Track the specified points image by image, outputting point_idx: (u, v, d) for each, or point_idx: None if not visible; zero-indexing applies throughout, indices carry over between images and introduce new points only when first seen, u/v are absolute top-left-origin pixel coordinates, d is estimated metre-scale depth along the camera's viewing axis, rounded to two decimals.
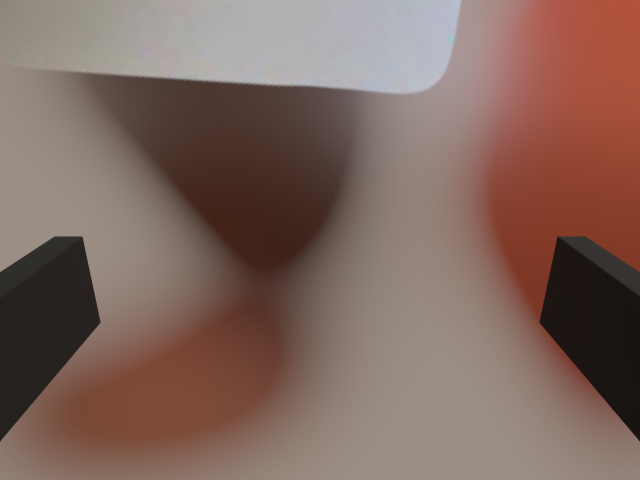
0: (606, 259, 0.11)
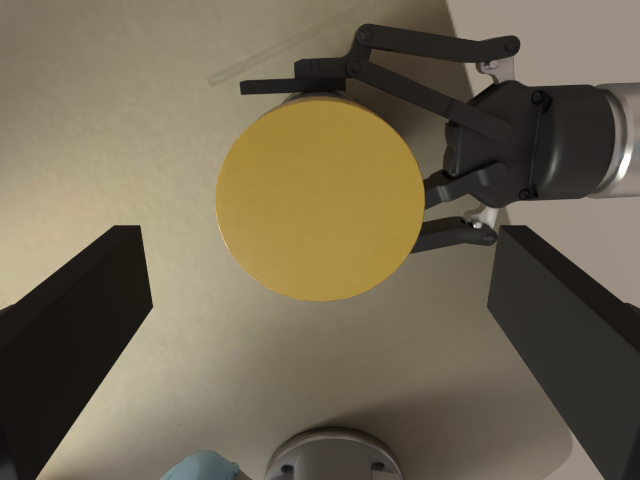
0: (538, 245, 0.12)
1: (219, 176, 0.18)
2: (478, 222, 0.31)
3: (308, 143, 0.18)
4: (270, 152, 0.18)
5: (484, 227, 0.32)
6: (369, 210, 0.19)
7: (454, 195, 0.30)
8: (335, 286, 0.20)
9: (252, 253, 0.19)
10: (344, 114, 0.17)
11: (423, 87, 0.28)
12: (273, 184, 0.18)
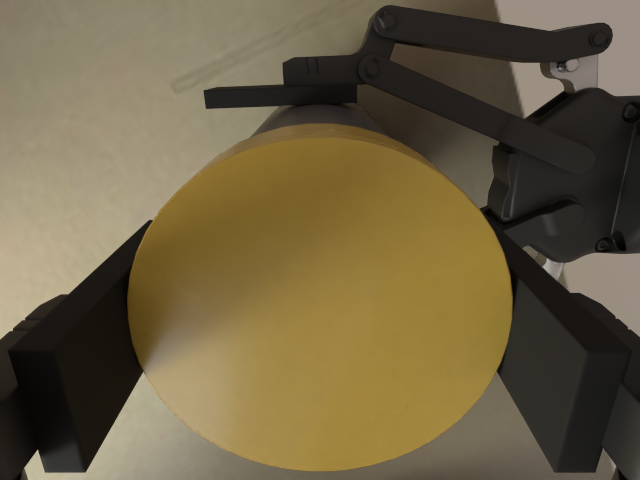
0: (499, 238, 0.12)
1: (132, 275, 0.10)
2: None
3: (297, 217, 0.09)
4: (225, 233, 0.09)
5: None
6: (410, 332, 0.10)
7: None
8: (347, 450, 0.12)
9: (200, 400, 0.11)
10: (368, 164, 0.09)
11: (468, 98, 0.19)
12: (233, 289, 0.10)
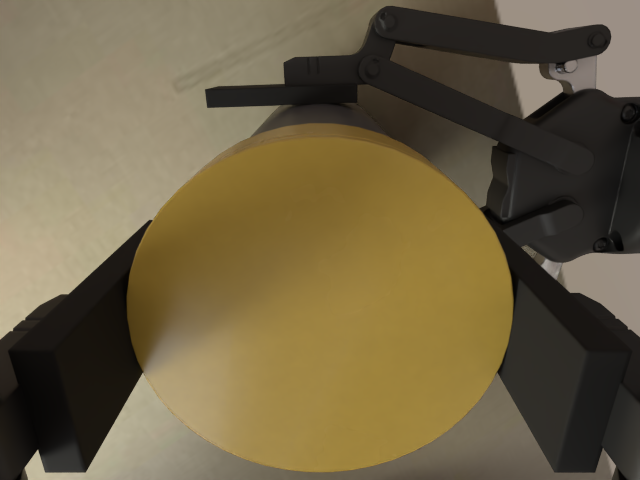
0: (499, 238, 0.12)
1: (328, 470, 0.12)
2: None
3: (221, 383, 0.11)
4: (261, 424, 0.11)
5: None
6: (285, 253, 0.09)
7: None
8: (466, 250, 0.09)
9: (440, 400, 0.11)
10: (151, 352, 0.10)
11: (468, 98, 0.19)
12: (308, 406, 0.11)
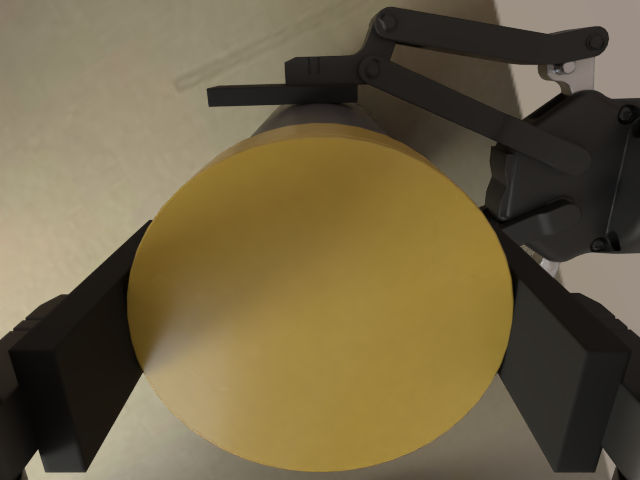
0: (499, 238, 0.12)
1: (503, 257, 0.10)
2: None
3: (412, 389, 0.11)
4: (453, 344, 0.10)
5: None
6: (257, 381, 0.11)
7: None
8: (176, 245, 0.09)
9: (356, 182, 0.09)
10: (397, 445, 0.11)
11: (467, 99, 0.20)
12: (414, 310, 0.10)
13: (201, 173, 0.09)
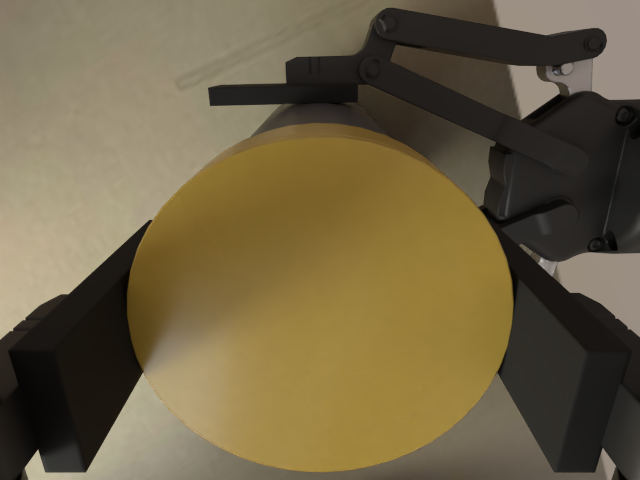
0: (499, 238, 0.12)
1: (165, 207, 0.09)
2: None
3: (354, 220, 0.09)
4: (279, 206, 0.09)
5: None
6: (399, 363, 0.11)
7: None
8: (287, 450, 0.12)
9: (170, 354, 0.10)
10: (440, 199, 0.09)
11: (466, 99, 0.20)
12: (259, 261, 0.10)
13: (222, 448, 0.12)
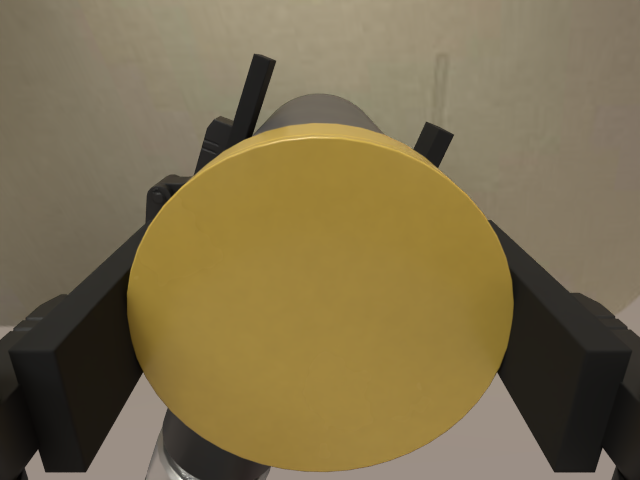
0: (499, 238, 0.12)
1: (165, 207, 0.09)
2: None
3: (354, 220, 0.09)
4: (279, 206, 0.09)
5: None
6: (399, 363, 0.11)
7: None
8: (287, 450, 0.12)
9: (170, 354, 0.10)
10: (440, 199, 0.09)
11: None
12: (259, 261, 0.10)
13: (222, 448, 0.12)
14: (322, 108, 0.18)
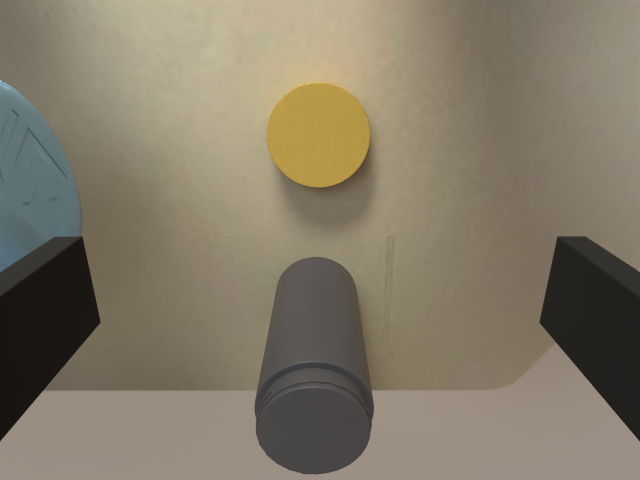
0: (607, 259, 0.11)
1: (279, 101, 0.37)
2: None
3: (326, 104, 0.37)
4: (308, 100, 0.37)
5: None
6: (340, 147, 0.38)
7: None
8: (308, 179, 0.39)
9: (277, 144, 0.38)
10: (347, 98, 0.37)
11: None
12: (302, 116, 0.37)
13: (289, 178, 0.39)
14: (316, 306, 0.35)
